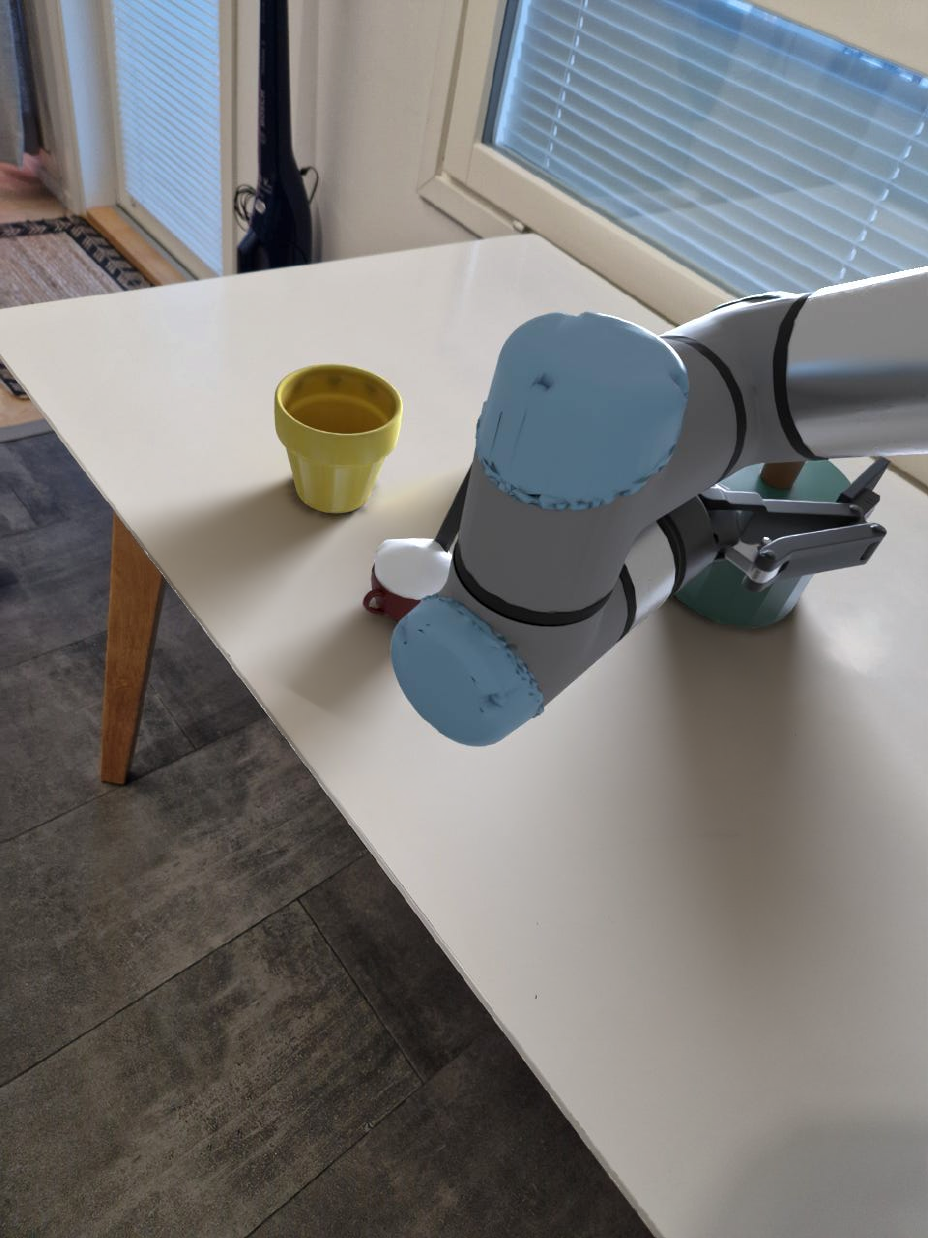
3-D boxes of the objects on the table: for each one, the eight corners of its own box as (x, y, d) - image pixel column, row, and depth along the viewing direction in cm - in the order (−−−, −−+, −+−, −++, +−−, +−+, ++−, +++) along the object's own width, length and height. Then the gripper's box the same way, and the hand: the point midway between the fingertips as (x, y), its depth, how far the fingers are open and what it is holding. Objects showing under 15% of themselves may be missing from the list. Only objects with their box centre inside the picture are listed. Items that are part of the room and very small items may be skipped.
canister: (820, 595, 78) (878, 506, 71) (734, 648, 72) (788, 556, 64) (716, 514, 84) (760, 424, 77) (628, 556, 78) (667, 462, 70)
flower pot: (348, 546, 73) (356, 451, 66) (249, 494, 75) (247, 398, 68) (412, 487, 80) (426, 395, 73) (320, 441, 82) (325, 348, 75)
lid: (883, 513, 71) (949, 413, 64) (786, 568, 64) (849, 463, 57) (756, 425, 78) (804, 325, 71) (656, 466, 71) (698, 360, 64)
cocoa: (364, 642, 66) (379, 522, 57) (345, 584, 70) (356, 464, 61) (480, 625, 69) (510, 510, 60) (456, 571, 73) (481, 455, 64)
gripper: (451, 490, 56) (631, 389, 69) (785, 726, 47) (923, 560, 59) (470, 389, 51) (661, 300, 63) (852, 634, 42) (988, 472, 54)
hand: (788, 425), depth 61 cm, fingers open, 13 cm apart
